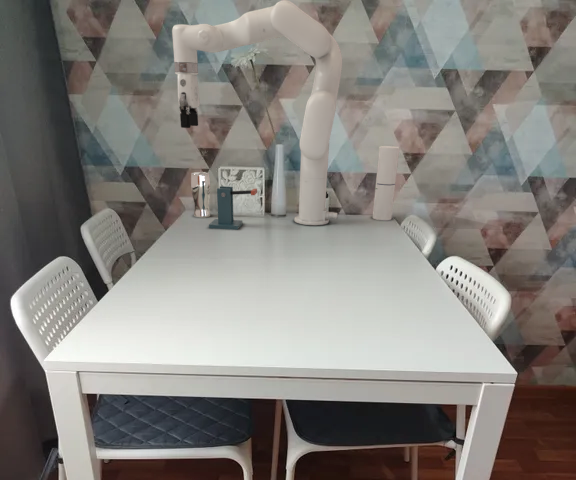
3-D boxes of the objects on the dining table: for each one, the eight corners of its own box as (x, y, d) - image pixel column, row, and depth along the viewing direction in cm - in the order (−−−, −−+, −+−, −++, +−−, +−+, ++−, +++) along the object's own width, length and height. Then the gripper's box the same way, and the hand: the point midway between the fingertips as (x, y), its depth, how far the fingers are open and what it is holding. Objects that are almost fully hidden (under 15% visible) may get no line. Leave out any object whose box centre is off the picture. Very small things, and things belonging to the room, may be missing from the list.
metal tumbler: (210, 218, 202) (208, 175, 194) (191, 217, 202) (188, 174, 194) (212, 214, 208) (211, 172, 201) (194, 213, 208) (192, 171, 201)
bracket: (242, 223, 195) (241, 186, 189) (237, 229, 187) (236, 190, 181) (214, 222, 196) (213, 184, 190) (209, 228, 188) (207, 189, 182)
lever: (257, 194, 188) (256, 186, 187) (255, 196, 183) (254, 189, 182) (223, 195, 189) (222, 188, 188) (219, 198, 185) (219, 191, 184)
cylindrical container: (382, 221, 204) (389, 148, 192) (368, 217, 209) (375, 146, 197) (395, 218, 208) (403, 147, 196) (381, 215, 213) (389, 145, 201)
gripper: (190, 69, 173) (193, 129, 181) (204, 70, 188) (206, 125, 196) (167, 68, 173) (171, 128, 182) (182, 69, 188) (186, 124, 197)
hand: (189, 126), depth 189 cm, fingers open, 9 cm apart
